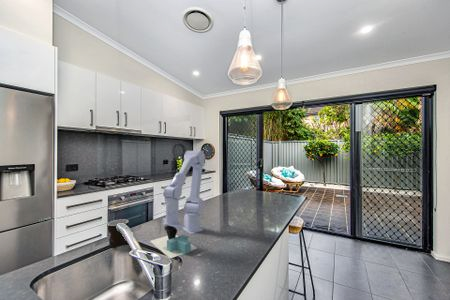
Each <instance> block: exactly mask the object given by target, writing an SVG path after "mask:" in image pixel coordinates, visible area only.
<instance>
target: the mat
mask: <svg viewBox="0 0 450 300" xmlns="http://www.w3.org/2000/svg"><path fill="white" fill-rule="evenodd" d="M178 236H179V235H177V234H176V237H178ZM167 240H169V239H168V235H165V236H162V237H158V238H155V239H151V240H149V243H151V244H152V245H153V246H155V247H156V248H157V249H158V250H159V251H160V252H162V253H163V254H164V255H165V256H166V257H167V258H169V259H173V258H175V257H178V256H182V255H184V254H183V253H181V252H180V251H178V250H174V251H172V252H170V251H168V250H167ZM196 249H198V247H196V245H193V244H192V243H191V251H194V250H196Z"/></svg>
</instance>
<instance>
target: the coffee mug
mask: <svg viewBox="0 0 450 300" xmlns="http://www.w3.org/2000/svg"><path fill="white" fill-rule="evenodd" d="M118 223H124V224H126V225H127V226H128V227H129V220H128V219H124V218H123V219H122V218H121V219H114V220H111V221H109V222H107V233H108V234H107V235H108V245H109V247H110V248H117V247H120V246H122V245H124V244H125V243H126V241H127V239H126V240H125V239H124V237H123V236H122V234H121V233H120V232H118V231H117V229H116V225H117V224H118Z"/></svg>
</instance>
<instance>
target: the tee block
mask: <svg viewBox="0 0 450 300" xmlns="http://www.w3.org/2000/svg"><path fill="white" fill-rule="evenodd" d="M177 236H178V237H175V238H172V239H169V240H167V250H168V251H170V252H172V251H174V250H178V251H180V252H181V253H183V255H187V254H189V253H191V244H192V243H191V241H189V235H187V234H181V235H177Z"/></svg>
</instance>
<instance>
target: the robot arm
mask: <svg viewBox="0 0 450 300" xmlns="http://www.w3.org/2000/svg"><path fill="white" fill-rule="evenodd" d="M205 159H206V156H205V154H204V151H203V150H186V151H185V152H184V156H183V163H182V164H181V168H180V169H179V171H178V172H176V173H175V175H174V176H173V179H172V180H171V182H170V183H169V185H168V186H166V187H165V188H164V189H163V190H164V191H163V194H162V195H163V197H164V202H165V217H163V219H162V223H163V226H164V230H165V231H166V233H167V235H166V236H168V239H172V238H175V237H176V235H177V233H178V231H181V230H184V231H185V232H187V233H189V234H190V235H192V234H196V233H198V232H202V231H204V229H203V228H201V215H202V213H203V211H204V208H205V206H204V200H203V198H202V197H200V194H201V192H200V191H201V186H202V185H201V184H202V173H203V166H205ZM191 167H192V174H191V175H192V176H191V184H190V193H189V196H188V197H187V198H186V199H185V202H184V205H183V210H184V211H183V212H184V213H185V214H184V217H183V225H182V224H181V223H180V221H179V209H180V208H179V206H180V205H179V203H180V201H179V200H180V198H181V196H182V193H183V192H182V191H183V187H184V184H185V181H186V180H187V176H186V175H187V174H188V172H189V171H190V169H191Z"/></svg>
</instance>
